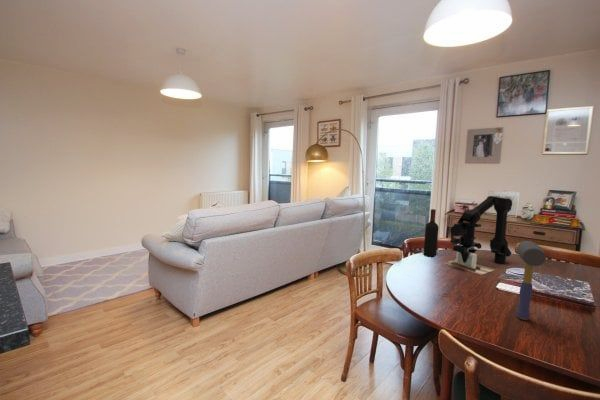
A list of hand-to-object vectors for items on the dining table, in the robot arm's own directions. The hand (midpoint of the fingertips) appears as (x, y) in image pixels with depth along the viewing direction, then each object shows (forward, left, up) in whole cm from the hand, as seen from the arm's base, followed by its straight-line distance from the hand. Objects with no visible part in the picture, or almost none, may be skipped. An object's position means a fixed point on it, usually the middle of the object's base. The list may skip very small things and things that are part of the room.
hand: (466, 261), depth 166 cm
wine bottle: (-4, -25, -4) cm, 26 cm away
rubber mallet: (+34, +41, -4) cm, 54 cm away
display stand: (-3, 0, -4) cm, 5 cm away
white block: (0, 0, -2) cm, 2 cm away
